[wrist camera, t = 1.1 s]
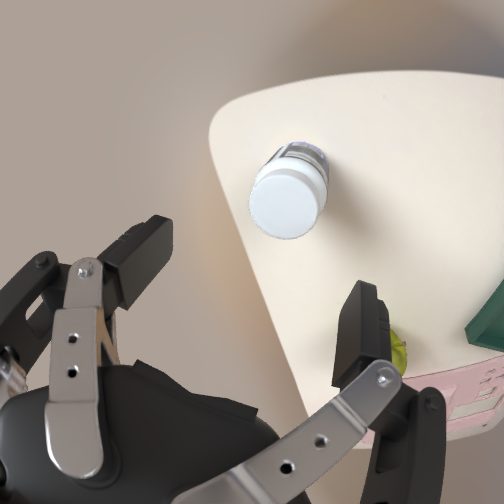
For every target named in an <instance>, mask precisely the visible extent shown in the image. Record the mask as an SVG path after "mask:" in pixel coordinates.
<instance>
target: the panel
mask: <svg viewBox="0 0 504 504" xmlns="http://www.w3.org/2000/svg"><path fill="white" fill-rule="evenodd" d="M503 366H504V355H503V356H500V357H497V358H494V359H491V360H488V361H484V362H481V363H477V364H474V365H470V366H466V367H462V368H458V369H454V370H450V371H445V372H441V373H436V374H431V375H425V376H420V377H414V378H408V379H402V382H403V383H405V384H406V385H408V386H410V387H412V388H413V389H415V390H417V391H419V392H420V391H421V390H422V389H424V388H425V387H434V388H436V389H438V390H439V391H440V392H441V393H442V394H443V396H444V398H445V401H446V433H449V432H453V431H458V430H461V429H465V428H469V427H472V426H476V425H479V424H482V423H485V422H487V421H489V420H490V419H491V418H492V417H493V415H494V414H495V413H496V412H497V410H498V409H499V408H500V406H501V405H502V404H503V402H504V395H503V396H502V398H501V399H500V401H499V402H498V403H497V405H496V406H495V408H493V409H490V410H487V411H484V412H481V413H478V414H474V415H471V416H467V417H463V418H459V419H455V420H451V421H447V420H448V418H449V416H450V414H451V412H452V410H453V408H454V407H458V406H462V405H466V404H470V403H473V402H477V401H480V400H483V399H487V398H490V397H493V396H496V395H499V394H501V393H504V375H503V376H501V377H498V378H496V377H497V376H498V375H501V374H504V367H503ZM502 367H503V368H502ZM491 369H493V370H492V371H491V372H488V371H489V370H491ZM487 372H488V373H487ZM489 378H490V379H489ZM485 379H489V381H486V382H483V383H481V381H482V380H485ZM493 387H495V388H494V390H493V391H492V393H490V394H487V395H484V396H481V397H477V396H478V394H479V392H480V391H484V390H487V389H490V388H493ZM367 430H368V431H367V433H366V434H365V436H364V437H363V438H362V441H363V443H364V444H373V441H374V435H375V432H374V431H372V430H370V429H368V428H367Z"/></svg>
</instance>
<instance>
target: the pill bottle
mask: <svg viewBox="0 0 504 504" xmlns="http://www.w3.org/2000/svg"><path fill="white" fill-rule="evenodd" d="M328 180H329V166H328V162H327V159H326V157H325V155H324V154H323V153H322V152H321V150H320V149H318V148H317V147H316V146H314V145H312V144H310V143H307V142H301V141H299V142H292V143H288V144H286V145H284V146H283V147H281V148H280V149H279V150H278V151H277V152H276V153H275V154H274V155H273V156H272V158H271V159H270V160H269V161H268V162H267V163H266V164H265V165H264V166H263V167H262V169H261V170H260V171H259V173H258V174H257V177H256V179H255V183H254V189H253V190H252V192H251V195H250V199H249V210H250V214H251V216H252V219H253V221H254V222H255V224H256V225H257V226H258V227H259V228H260V229H261V230H262V231H263V232H265V233H266V234H268V235H270V236H272V237H275V238H278V239H295V238H298V237H301V236H303V235H304V234H306V233H307V232H308V231H309V230H311V228H312V227H313V226H314V224H315V223H316V220H317V218H318V216H319V215H320V213H321V212H322V210H323V208H324V206H325V204H326V200H327V190H328Z"/></svg>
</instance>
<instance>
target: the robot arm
mask: <svg viewBox="0 0 504 504" xmlns="http://www.w3.org/2000/svg"><path fill="white" fill-rule="evenodd" d="M172 251H173V222H172V220H171V219H169V218H165V217H162V216H159V215H154V216H152V217H151V218H150V219H149V220H148V221H146V222H145V223H143V222H142V223H140V224H137V225H135V226H132V227H131V228H130V229H129V230H128V231H126V232H125V233H124V235H122V236H120V237H119V238H118V240H116V241H115V242H114V243H112V244H111V245H110V246H109V247H108V248H107V249H106V250H104V251H103V252H102V253H101V254H100V255H99V256H98V257H97V258H92V257H87V258H82V259H80V260H78V261H76V262H75V263H74V264H73V265H68V264H61V263H59V262H58V259H57V256H56V254H55V253H54V252H51V251H44V252H41V253H39V254H37V255H35V256H34V257H33V258H32V259H31V260H30V261H29V262H28V263H27V264H26V265H25V266H24V267H23V268H22V269H21V270H20V271H19V272H18V273H17V274H16V275H15V276H14V277H13V278H12V279H11V280H10V281H9V282H8V283H7V284H6V285H5V286H4V287H3V288H2V289H1V290H0V504H311V502H310V500H309V498H308V496H307V494H306V492H305V489H306V488H308V487H309V486H310V485H312V484H313V483H314V482H315V481H317V480H318V479H319V478H320V477H321V476H322V475H324V474H325V473H326V472H327V471H328V470H330V469H331V468H332V467H333V466H334V465H335V464H336V463H337V462H338V461H340V459H342V458H343V457H344V456H345V455H346V454H347V453H348V452H349V451H350V450H351V449H352V448H353V447H354V446H355V445H356V444H357V443H358V442H359V441H360V440H361V439H362V438H363V437H364V436H365V434H366V433H367V431H368V430H367V428H368V429H370V430H372V431H374V432H375V435H374V441H373V447H372V453H371V458H370V463H369V468H368V473H367V477H366V482H365V485H364V489H363V493H362V497H361V501H360V504H439V503H440V497H441V491H442V484H443V477H444V467H445V454H446V401H445V398H444V396H443V394H442V393H441V392H440V391H439V390H438V389H436V388H434V387H425V388H424V389H422V390H421V391H420V392H419V391H417V390H415V389H413V388H412V387H410V386H408V385H406V384H405V383H403V382H402V377H401V373H400V371H399V370H398V368H397V367H396V366H395V365H394V364H393V363H392V349H391V334H390V324H389V313H388V310H387V308H386V306H385V304H384V302H383V301H382V300H379V299H377V289H376V286H375V285H373V284H370V283H367V282H364V281H361V280H358V281H357V282H356V284H355V286H354V287H353V289H352V291H351V293H350V295H349V296H348V298H347V300H346V302H345V303H344V305H343V307H342V309H341V312H340V316H339V323H338V334H337V345H336V354H335V362H334V370H333V378H332V385H331V386H333V387H337V388H340V393H339V394H338V395H337V396H336V397H334V398H333V399H332V400H330V401H329V402H328V403H327V404H326V405H324V406H323V407H322V408H321V409H319V410H318V411H317V412H316V413H314V414H313V415H312V416H311V417H309V418H308V419H307V420H306V421H304V422H303V423H302V424H300V425H299V426H297V427H296V428H295V429H293V430H292V431H291V432H289V433H288V434H286V435H285V436H284V437H282V438H281V439H280V437H279V436H278V435H277V433H276V432H275V431H274V430H273V429H272V428H271V427H270V426H269V425H268V424H267V423H266V422H264V421H263V420H262V419H260V418H258V417H257V416H256V415H257V412H258V409H257V408H254V407H251V406H248V405H245V404H242V403H239V402H236V401H233V400H230V399H227V398H220V397H212V396H205V395H199V394H194V393H191V392H189V391H188V390H186V389H185V388H183V387H182V386H181V385H180V384H178V383H177V382H175V381H174V380H173V379H172V378H170V377H169V376H168V375H167V374H165V373H164V372H162V371H160V370H158V369H156V368H153V367H152V366H149V365H148V364H145V363H143V362H142V361H140V360H138V359H137V360H136V362H135V364H134V365H133V366H131V365H120V361H119V357H118V352H117V342H116V322H115V312H114V311H115V309H116V308H117V307H118V306H119V307H121V308H123V309H125V310H128V309H129V308H130V307H131V305H132V304H133V303H134V302H135V300H136V299H137V298H138V297H139V296H140V294H141V293H142V292H143V291H144V289H145V288H146V287H147V286H148V285H149V283H150V282H151V281H152V280H153V279H154V278H155V276H156V275H157V274H158V273H159V272H160V270H161V269H162V268H163V267H164V266H165V264H166V263H167V262H168V261H169V259H170V257H171V255H172ZM39 295H41V297H42V299H43V302H42V303H41V305H40V306H39V307H38V308H37V309H36V310H35V312H34V313H33V314H32V315H31V316H30V318H29V319H28V320H26V317H25V315H26V311H27V309H28V308H29V307H30V305H31V304H32V303H33V302H34V301H35V300H36V299H37V297H38V296H39ZM51 339H52V341H51ZM50 341H51V354H50V372H49V373H50V374H49V385H48V386H45V387H41V388H38V389H35V390H32V391H28V386H27V385H26V375H27V374H28V372H29V370H30V369H31V368H32V366H33V365H34V363H35V362H36V361H37V359H38V358H39V356H40V355H41V353H42V352H43V351H44V349H45V348H46V346H47V345H48V343H49V342H50ZM27 391H28V392H27Z"/></svg>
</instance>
